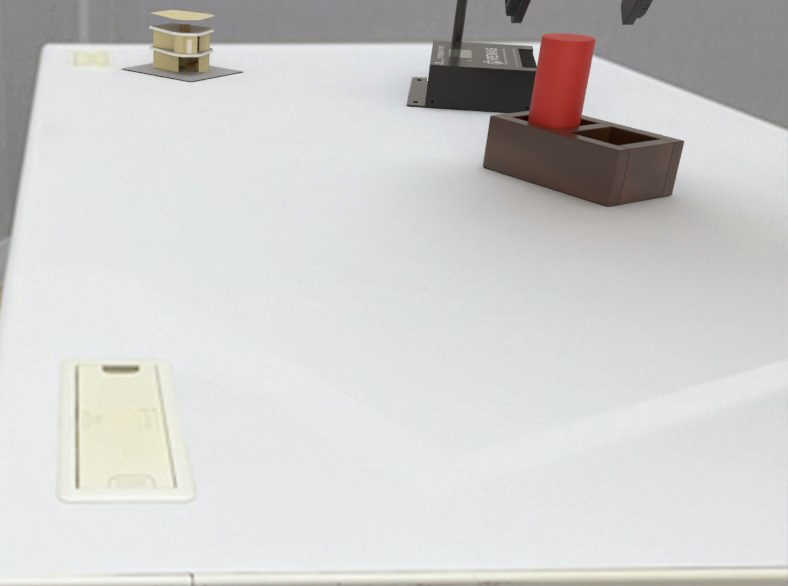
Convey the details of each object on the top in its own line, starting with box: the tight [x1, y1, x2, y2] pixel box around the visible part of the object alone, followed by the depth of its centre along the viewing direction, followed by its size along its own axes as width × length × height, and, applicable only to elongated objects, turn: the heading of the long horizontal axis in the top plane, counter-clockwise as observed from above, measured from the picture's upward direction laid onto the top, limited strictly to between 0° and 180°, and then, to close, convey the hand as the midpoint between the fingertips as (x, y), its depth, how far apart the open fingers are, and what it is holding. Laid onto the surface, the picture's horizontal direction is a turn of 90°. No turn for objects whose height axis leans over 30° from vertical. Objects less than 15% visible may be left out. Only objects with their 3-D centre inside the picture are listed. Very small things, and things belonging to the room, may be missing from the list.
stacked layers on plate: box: [120, 9, 244, 82], centre depth 130 cm, size 10×9×6 cm
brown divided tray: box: [482, 111, 685, 207], centre depth 94 cm, size 7×13×4 cm, turn 32°
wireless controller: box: [406, 0, 537, 113], centre depth 121 cm, size 20×14×17 cm
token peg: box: [528, 32, 597, 129], centre depth 94 cm, size 4×4×10 cm
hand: (570, 14), depth 92 cm, fingers open, 8 cm apart
